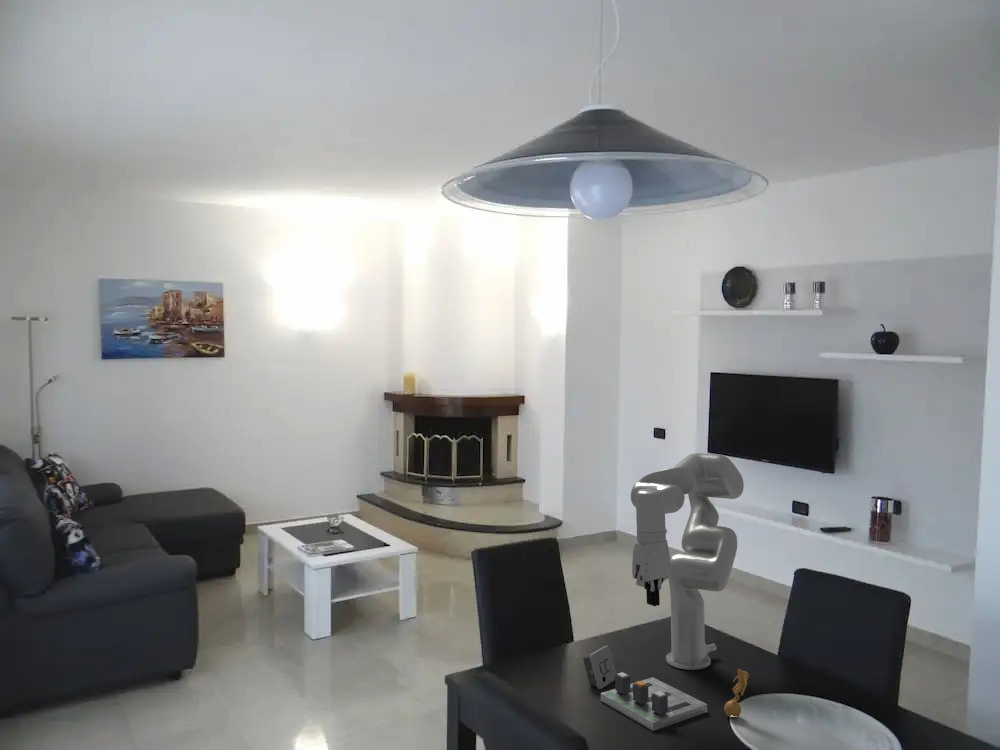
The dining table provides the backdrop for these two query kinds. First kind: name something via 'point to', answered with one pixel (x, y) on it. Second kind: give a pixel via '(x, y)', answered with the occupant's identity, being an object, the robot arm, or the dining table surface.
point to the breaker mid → (640, 692)
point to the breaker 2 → (659, 702)
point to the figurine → (732, 705)
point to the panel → (678, 705)
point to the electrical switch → (600, 667)
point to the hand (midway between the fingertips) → (653, 604)
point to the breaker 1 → (622, 683)
